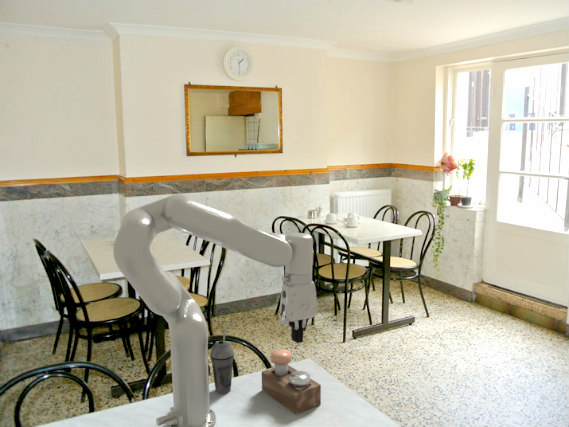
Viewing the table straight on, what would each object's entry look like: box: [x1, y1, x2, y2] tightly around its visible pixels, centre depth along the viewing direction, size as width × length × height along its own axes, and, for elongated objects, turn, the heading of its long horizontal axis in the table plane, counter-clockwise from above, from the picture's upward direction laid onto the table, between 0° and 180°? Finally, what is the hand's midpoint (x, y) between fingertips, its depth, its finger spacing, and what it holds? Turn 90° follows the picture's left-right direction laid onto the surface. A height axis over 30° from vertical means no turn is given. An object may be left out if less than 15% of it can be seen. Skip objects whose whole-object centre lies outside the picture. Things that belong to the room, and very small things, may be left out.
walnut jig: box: [261, 364, 322, 416], centre depth 146 cm, size 9×17×6 cm, turn 36°
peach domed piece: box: [270, 348, 292, 378], centre depth 149 cm, size 6×6×8 cm
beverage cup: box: [209, 326, 235, 395], centre depth 149 cm, size 7×7×20 cm
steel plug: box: [289, 370, 311, 390], centre depth 142 cm, size 6×6×8 cm
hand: (297, 340), depth 140 cm, fingers closed
